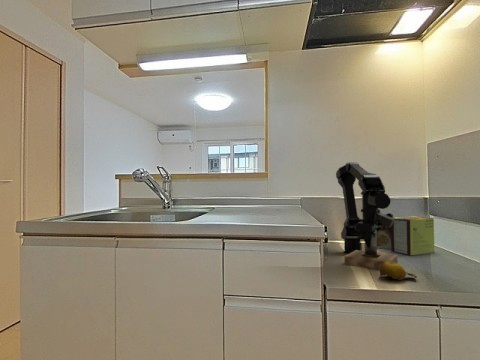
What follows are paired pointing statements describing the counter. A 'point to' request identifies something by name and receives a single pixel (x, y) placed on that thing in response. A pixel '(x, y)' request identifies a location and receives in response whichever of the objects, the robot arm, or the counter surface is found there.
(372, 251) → the grey and teal cylinder
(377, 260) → the dock
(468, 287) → the counter surface
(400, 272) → the fruit
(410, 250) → the protein box
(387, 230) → the coffee box
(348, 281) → the counter surface
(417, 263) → the counter surface
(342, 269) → the counter surface
